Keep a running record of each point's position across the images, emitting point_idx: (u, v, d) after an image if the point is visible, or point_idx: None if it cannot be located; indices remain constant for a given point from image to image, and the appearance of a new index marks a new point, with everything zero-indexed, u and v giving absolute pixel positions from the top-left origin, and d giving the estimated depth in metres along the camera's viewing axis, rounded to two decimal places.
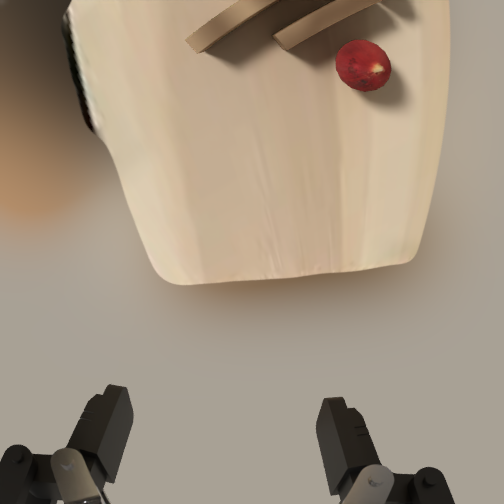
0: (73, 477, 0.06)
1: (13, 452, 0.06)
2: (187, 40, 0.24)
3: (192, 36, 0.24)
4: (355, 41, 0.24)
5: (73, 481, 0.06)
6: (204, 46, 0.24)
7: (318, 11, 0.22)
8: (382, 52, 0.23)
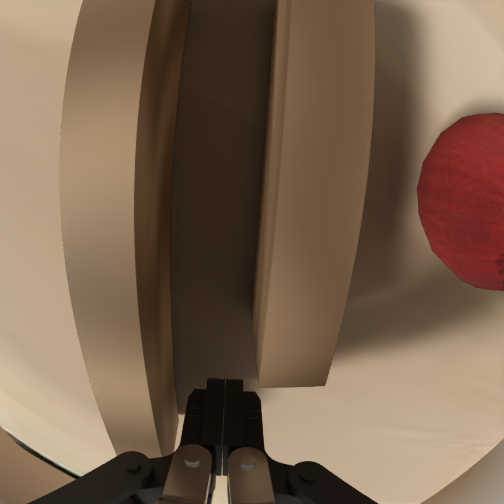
0: (189, 474, 0.07)
1: (130, 458, 0.07)
2: None
3: None
4: (452, 171, 0.07)
5: (206, 477, 0.07)
6: None
7: (283, 211, 0.07)
8: None
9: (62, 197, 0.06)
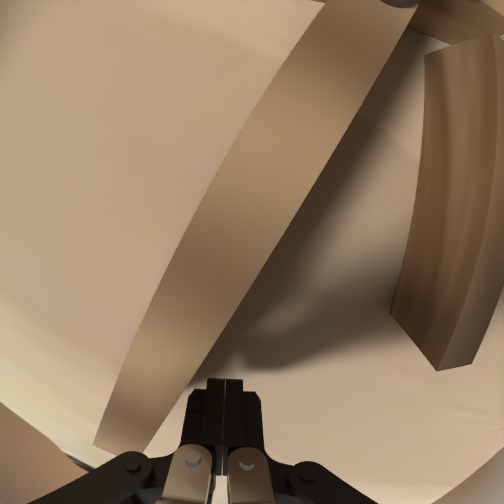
0: (189, 474, 0.07)
1: (130, 458, 0.07)
2: (98, 445, 0.10)
3: (100, 439, 0.10)
4: None
5: (206, 477, 0.07)
6: None
7: (485, 239, 0.08)
8: None
9: (223, 161, 0.07)
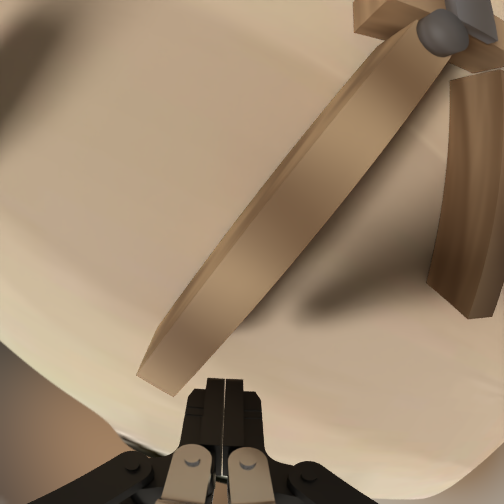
0: (189, 474, 0.07)
1: (130, 458, 0.07)
2: (142, 375, 0.12)
3: (147, 368, 0.12)
4: None
5: (206, 477, 0.07)
6: (181, 384, 0.12)
7: (496, 216, 0.10)
8: None
9: (318, 137, 0.10)
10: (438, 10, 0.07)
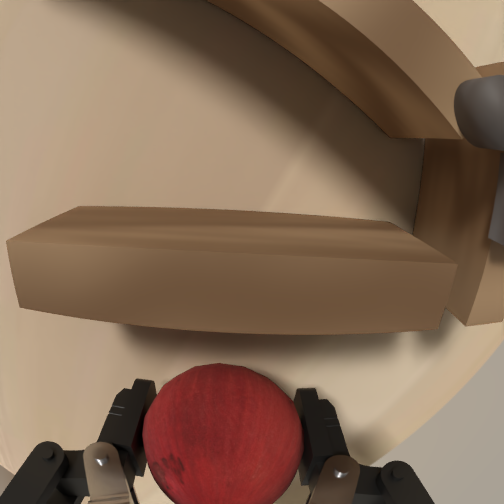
0: (104, 471, 0.06)
1: (44, 448, 0.06)
2: None
3: None
4: (241, 403, 0.08)
5: (109, 475, 0.06)
6: None
7: (181, 256, 0.07)
8: (289, 471, 0.08)
9: None
10: None
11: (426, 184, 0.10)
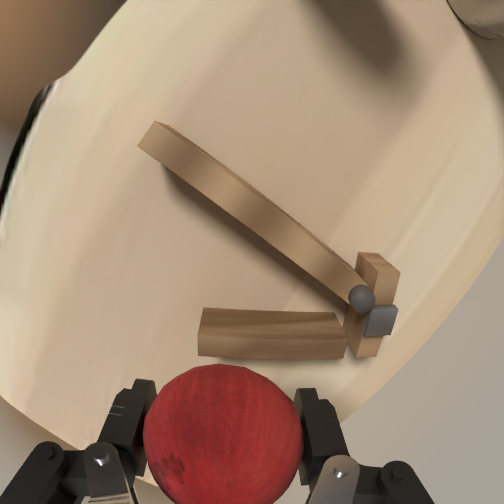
0: (104, 471, 0.06)
1: (44, 448, 0.06)
2: (154, 125, 0.18)
3: (161, 130, 0.18)
4: (241, 403, 0.08)
5: (109, 475, 0.06)
6: (149, 152, 0.19)
7: (263, 340, 0.23)
8: (289, 471, 0.08)
9: (301, 230, 0.21)
10: (374, 296, 0.21)
11: None
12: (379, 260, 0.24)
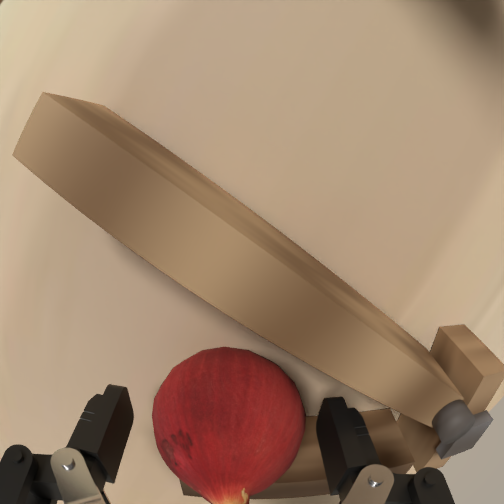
0: (73, 477, 0.06)
1: (13, 451, 0.06)
2: (41, 102, 0.06)
3: (55, 111, 0.06)
4: (246, 380, 0.09)
5: (73, 481, 0.06)
6: (34, 167, 0.07)
7: (288, 483, 0.11)
8: (291, 448, 0.09)
9: (384, 337, 0.09)
10: (474, 419, 0.09)
11: None
12: (474, 344, 0.12)
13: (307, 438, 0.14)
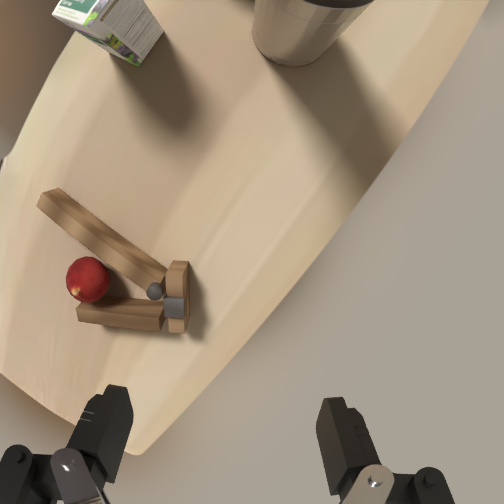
0: (72, 476, 0.06)
1: (13, 452, 0.06)
2: (41, 195, 0.31)
3: (45, 198, 0.31)
4: (86, 260, 0.34)
5: (73, 481, 0.06)
6: (41, 209, 0.31)
7: (108, 313, 0.36)
8: (94, 281, 0.33)
9: (113, 249, 0.33)
10: (159, 290, 0.34)
11: None
12: (179, 266, 0.37)
13: (124, 303, 0.39)
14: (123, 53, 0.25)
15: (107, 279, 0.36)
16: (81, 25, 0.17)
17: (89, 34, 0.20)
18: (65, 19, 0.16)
